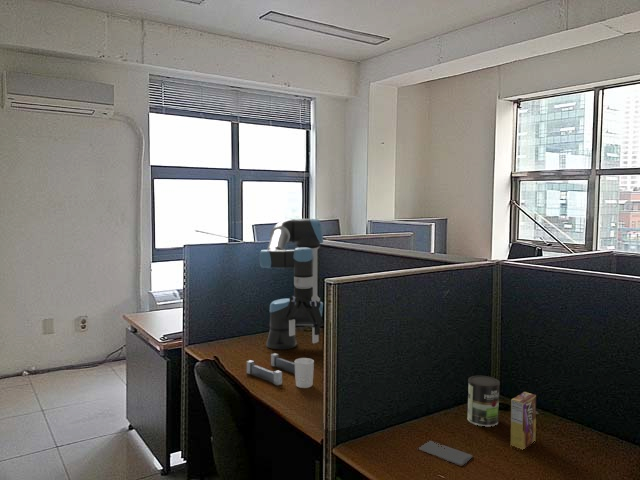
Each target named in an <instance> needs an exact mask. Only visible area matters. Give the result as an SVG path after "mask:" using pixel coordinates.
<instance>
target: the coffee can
mask: <svg viewBox="0 0 640 480" xmlns="http://www.w3.org/2000/svg"><path fill="white" fill-rule="evenodd" d="M467 382H468V389H467V391H468V393H467V394H468V395H467V417H466V419H467V421H468V422H469V423H471V424H473V425H475V426H477V425H478V426H477V427H482V426H485V428H491V426H492V427H495V425H496V426H497V425H498V424H499V411H500V410H499V406H500V405H499V403H500V386H501V381H500V380H499V379H497V378H495V377H492V376H487V375H472V376H470V377H468V379H467Z"/></svg>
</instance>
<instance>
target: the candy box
mask: <svg viewBox="0 0 640 480" xmlns="http://www.w3.org/2000/svg"><path fill="white" fill-rule="evenodd" d="M510 403H511V404H510V446H511V445H512V446H515V447H517V448H520V449H522V450H523V449H525V448H526V447H528V446H529V445H530V444H532V443H533V442H534V441H535V442H536V432H537V431H536V426H537V425H536V424H537V418H536V417H537V415H536V414H537V412H536V411H537V395H536V394H533V393H529V392H527V391H523V392H521V393H520V394H518V395H517V396H515V397H513V398H511V400H510ZM535 442H534V443H535ZM534 443H533V444H534ZM533 444H532V445H533ZM530 446H531V445H530ZM530 446H529V447H530ZM529 447H528V448H529ZM526 449H527V448H526ZM526 449H525V450H526Z"/></svg>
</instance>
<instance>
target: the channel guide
mask: <svg viewBox="0 0 640 480" xmlns="http://www.w3.org/2000/svg"><path fill="white" fill-rule="evenodd" d="M270 366H271V367H274V368H278V370H275V371H273V370H270V369H268V368H265V367H262V366H260V365H256V364H255V361H254V360H251V359H249V360H246V374H248V375H252V376H254V377H257V378H260V379H262V380H263V381H264V380H265V381H267V382H270V383H272V384H274V385H275V386H280V385H282V384H283V371H281V370H284V371H286V372H289V373H291V374H293V375H295V365H294V362H293V361H291V360H290V361H289V360H287V359H284V358H281V357H279V353H275V352H274V353H271V354H270ZM279 369H280V370H279Z"/></svg>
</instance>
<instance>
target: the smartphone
mask: <svg viewBox="0 0 640 480" xmlns="http://www.w3.org/2000/svg"><path fill="white" fill-rule="evenodd" d="M428 441H429V442H428ZM428 441H426V442H427V443H426V442H425V443H423V444H424V445H423V444H422V445H421V447H420V446H419V447H418V448H419V450H422V451H424V452H427V453H429V454H432V455H436V456H438V457H440V458H443V459H445V460H447V461H450V462H452V463H455V464H457V465H464V464H465V463H466V464H468V463H467V461H469V460H470V459H471V458H472V457H473V455H472V454H470V453H467V452H465V451H461V450H459V449H455V448H453V447H450V446H447V445H444V444H442V445H440V444H441V443H438V442H436V441H433V440H428ZM434 442H435V443H434ZM436 443H437V444H436ZM438 444H439V445H438ZM438 446H439V447H438ZM441 446H442V447H441ZM444 448H445V449H444ZM473 458H474V457H473ZM471 460H472V459H471ZM471 460H470V461H471ZM447 461H446V462H447ZM470 461H469V462H470ZM452 463H451V464H452ZM455 464H454V465H455ZM466 464H465V465H466ZM457 465H456V466H457ZM465 465H464V466H465Z"/></svg>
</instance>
